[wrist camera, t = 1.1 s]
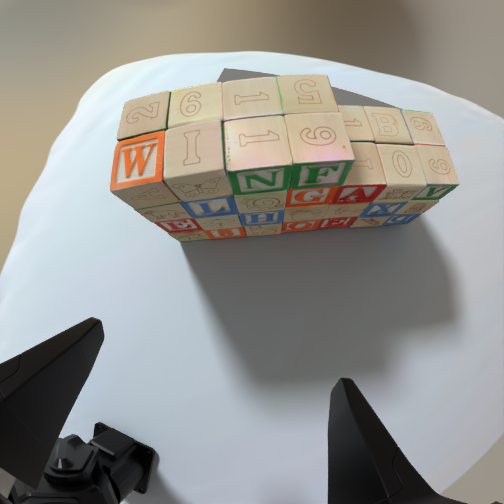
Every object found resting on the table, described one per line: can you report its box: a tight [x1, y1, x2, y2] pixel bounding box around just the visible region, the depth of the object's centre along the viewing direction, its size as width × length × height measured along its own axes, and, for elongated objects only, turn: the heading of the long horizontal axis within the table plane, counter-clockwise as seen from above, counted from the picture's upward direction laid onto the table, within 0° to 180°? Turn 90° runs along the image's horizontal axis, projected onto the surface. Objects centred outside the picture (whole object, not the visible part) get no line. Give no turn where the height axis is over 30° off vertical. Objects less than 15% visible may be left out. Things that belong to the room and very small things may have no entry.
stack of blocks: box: [110, 75, 459, 241], centre depth 19 cm, size 21×6×12 cm, turn 94°
